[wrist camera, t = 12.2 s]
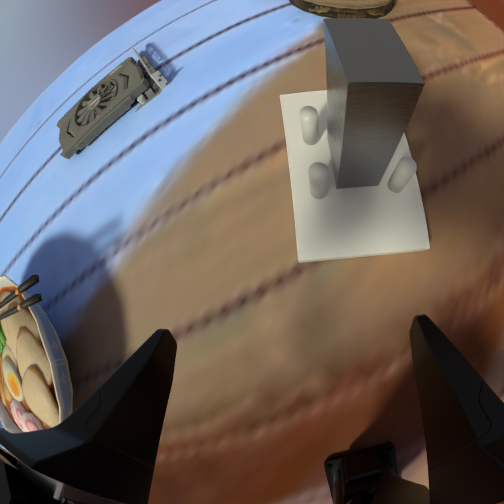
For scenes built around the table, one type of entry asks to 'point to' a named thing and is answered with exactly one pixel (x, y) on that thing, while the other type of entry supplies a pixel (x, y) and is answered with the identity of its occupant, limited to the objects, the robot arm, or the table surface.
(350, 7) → the brown flat round piece
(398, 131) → the block
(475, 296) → the table surface
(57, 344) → the ramen bowl
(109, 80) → the graphics card
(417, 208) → the pin tray
